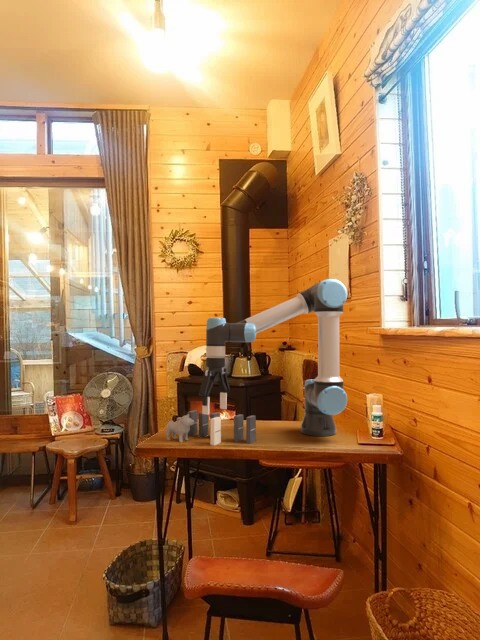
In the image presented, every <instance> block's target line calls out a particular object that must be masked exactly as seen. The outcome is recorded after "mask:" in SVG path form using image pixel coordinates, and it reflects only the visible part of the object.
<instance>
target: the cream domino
mask: <svg viewBox="0 0 480 640" xmlns="http://www.w3.org/2000/svg"><path fill="white" fill-rule="evenodd" d="M209 438H210V439H209V440H210V443H209V444H210V446H217V445H219V444H222V439H221V438H222V417H221V416H220V417H215V418H212V419H210V418H209Z"/></svg>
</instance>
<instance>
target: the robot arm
mask: <svg viewBox="0 0 480 640" xmlns="http://www.w3.org/2000/svg"><path fill="white" fill-rule="evenodd" d="M347 298H348V290H347V288H346V286H345V284H343V282H342V281H340V280H338V279H336V278H335V279H334V278H329V279H328V278H327V279H324V280H322V281H319V282H317V283H315V284H313V285H311V286H309V287H308V288H306V289H304V290H303V291H301V292H298V293H297V294H296V296H295V297H293V298H291V299H287V300H286V301H284V302H281V303H279V304H277V305H274V306H272V307H270V308H268V309H265V310H263V311H261V312H259V313H257V314H254V315H251V316H249V317H247V318H245V319H243V320H240V321H238V322H233V323H232V322H231V323H230V322H227V320H226V318H225V317H209V318H208V319H207V320H206V329H205V330H206V333H205V339H206V340H205V344H206V345H205V356H206V358H205V367H206V368H207V370H206V369H204V370H203V375H202V377H203V378H202V381H201V384H200V386H199V387H200V389H199V392H198V396H199V397H202V405H201V407H202V409H201V410H202V411H201V412H202V414H207V415H209V416H210V401H211V400H210V398H211V397H210V394H211V390H212V388H213V385H214V383H216V382H217V385H218V387H219V389H220V393H219V409H220V410H227V408H228V405H227V403H228V402H227V401H228V400H227V399H228V398H227V397H228V394H229V393H230V391H231V389H230V388H231V387H230V384H229V379H228V374H227V373H228V371H227V368H225V367H226V358H225V356H226V343H230V342H231V343H247V344H248V343H254V342H255V341H256V338H257V334H258V333H261V332H263V331H266V330H268V329H270V328H273V327H275V326H277V325H279V324H282V323H284V322H286V321H288V320H290V319H293V318H295V317H297V316H299V315H302V314H306V315H307V314H310V313H312V312H313V313H314V314H315V315H316V316H317V376H316V377H315V378H314V379H306V380H304V386H303V388H304V416H303V419H302V422H301V425H300V433H301V434H304V435H308V436H313V437H314V436H315V437H327V436H328V437H331V436H334V435H336V434H337V426H336V422H335V420H334V417H333V416H336V415H339V414H341V413H342V412H343V411H344V410H345V409H346V408H347V404H348V395H347V392H346V391H345V390H344V380H343V378H342V377H341V376H340V371H341V370H340V363H341V362H340V317H341V316H342V315H343V314H344V304H345V303H346V301H347Z"/></svg>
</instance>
